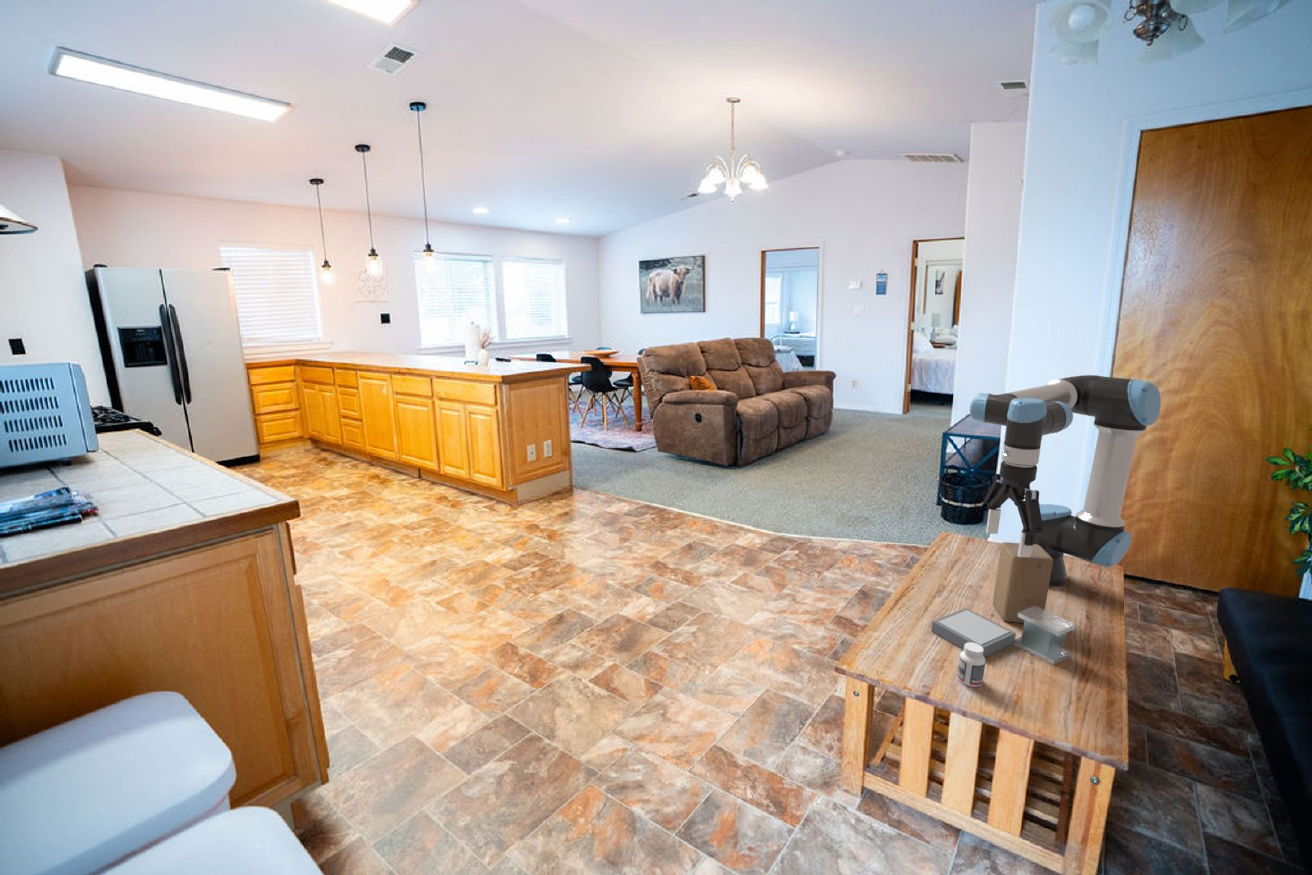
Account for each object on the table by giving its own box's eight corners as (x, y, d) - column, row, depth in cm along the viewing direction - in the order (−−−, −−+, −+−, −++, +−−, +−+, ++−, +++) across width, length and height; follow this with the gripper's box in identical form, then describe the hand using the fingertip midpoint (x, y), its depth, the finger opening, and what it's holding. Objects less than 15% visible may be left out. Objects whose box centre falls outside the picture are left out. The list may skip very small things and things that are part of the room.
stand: (964, 617, 166) (966, 607, 165) (1014, 643, 154) (1016, 632, 153) (931, 631, 159) (932, 620, 159) (980, 659, 147) (981, 647, 147)
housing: (1029, 636, 157) (1034, 605, 154) (1069, 656, 148) (1075, 624, 146) (1013, 644, 154) (1018, 612, 151) (1053, 665, 145) (1059, 631, 143)
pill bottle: (984, 679, 140) (990, 646, 138) (978, 690, 136) (983, 656, 134) (960, 670, 143) (965, 637, 141) (954, 680, 139) (958, 647, 137)
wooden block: (1043, 626, 161) (1055, 558, 156) (1003, 622, 163) (1013, 555, 158) (1028, 607, 171) (1039, 543, 166) (991, 604, 173) (1000, 540, 168)
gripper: (975, 449, 155) (966, 524, 160) (1037, 479, 130) (1023, 567, 136) (1004, 448, 155) (993, 524, 160) (1070, 479, 131) (1055, 567, 136)
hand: (1007, 544), depth 148 cm, fingers open, 13 cm apart
